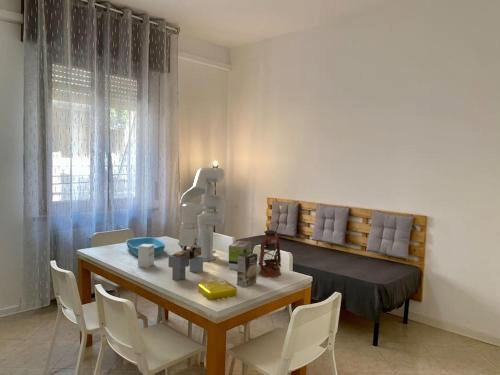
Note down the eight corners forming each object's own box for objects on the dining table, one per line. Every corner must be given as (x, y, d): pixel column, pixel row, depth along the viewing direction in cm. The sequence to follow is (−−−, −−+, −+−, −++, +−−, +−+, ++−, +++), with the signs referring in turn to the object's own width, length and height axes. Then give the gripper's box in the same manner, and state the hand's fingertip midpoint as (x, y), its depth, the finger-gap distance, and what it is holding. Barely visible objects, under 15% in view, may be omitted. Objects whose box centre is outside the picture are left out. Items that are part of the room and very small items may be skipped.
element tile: (197, 291, 184) (197, 282, 184) (223, 287, 192) (224, 278, 192) (209, 302, 171) (210, 292, 171) (238, 296, 179) (238, 287, 179)
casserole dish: (122, 247, 267) (122, 238, 266) (153, 244, 278) (153, 235, 278) (135, 260, 235) (135, 249, 235) (169, 256, 247) (169, 246, 246)
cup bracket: (177, 275, 207) (177, 252, 206) (189, 277, 204) (189, 254, 203) (168, 279, 200) (168, 256, 199) (180, 282, 197) (180, 258, 196)
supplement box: (148, 267, 220) (149, 247, 219) (137, 266, 222) (137, 246, 221) (154, 264, 227) (154, 244, 226) (143, 263, 229) (143, 243, 228)
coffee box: (245, 287, 191) (246, 257, 189) (236, 284, 195) (237, 255, 193) (256, 283, 198) (257, 254, 196) (247, 280, 202) (248, 251, 200)
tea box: (236, 262, 236) (237, 239, 235) (251, 264, 233) (252, 241, 232) (228, 269, 222) (228, 245, 221) (243, 271, 219) (244, 246, 218)
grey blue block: (194, 268, 220) (194, 255, 220) (202, 270, 218) (203, 257, 217) (189, 271, 216) (189, 257, 215) (198, 272, 213) (198, 259, 212)
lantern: (267, 280, 204) (268, 226, 201) (251, 274, 214) (253, 222, 211) (288, 274, 215) (290, 223, 212) (272, 268, 224) (274, 220, 222)
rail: (195, 254, 219) (195, 245, 218) (201, 255, 217) (201, 246, 216) (174, 262, 201) (174, 253, 200) (180, 263, 199) (180, 254, 199)
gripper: (172, 225, 208) (172, 257, 209) (197, 228, 200) (196, 261, 202) (180, 223, 214) (180, 254, 216) (204, 226, 207) (204, 258, 208)
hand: (188, 257), depth 209 cm, fingers closed on rail, 3 cm apart
